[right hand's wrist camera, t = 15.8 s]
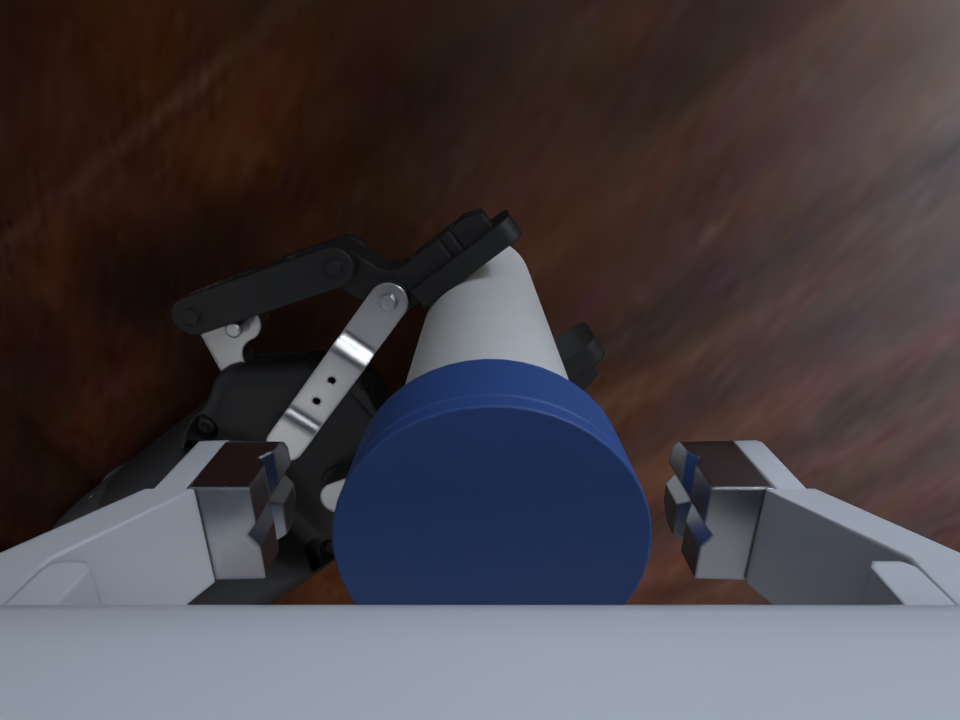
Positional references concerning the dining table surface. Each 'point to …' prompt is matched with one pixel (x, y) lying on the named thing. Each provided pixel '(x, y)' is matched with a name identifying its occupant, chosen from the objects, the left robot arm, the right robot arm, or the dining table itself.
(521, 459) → the lid
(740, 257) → the dining table surface
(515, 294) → the white long cylinder
